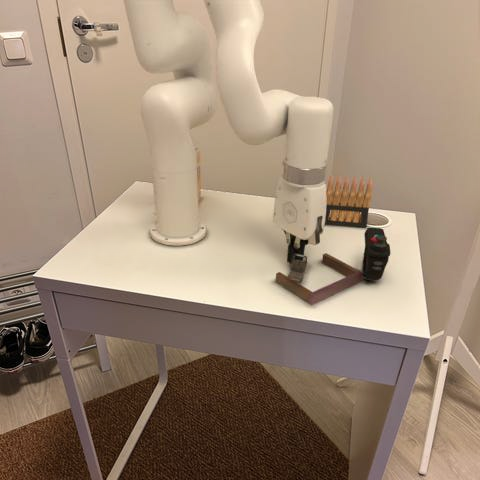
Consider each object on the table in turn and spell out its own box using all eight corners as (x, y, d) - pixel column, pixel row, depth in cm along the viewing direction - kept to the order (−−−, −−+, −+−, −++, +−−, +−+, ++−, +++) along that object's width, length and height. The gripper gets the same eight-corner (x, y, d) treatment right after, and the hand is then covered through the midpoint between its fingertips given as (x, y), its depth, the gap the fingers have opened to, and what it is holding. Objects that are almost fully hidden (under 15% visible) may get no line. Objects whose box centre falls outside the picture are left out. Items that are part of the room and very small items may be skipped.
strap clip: (293, 261, 98) (296, 243, 95) (308, 264, 97) (311, 246, 95) (285, 282, 91) (288, 263, 89) (301, 285, 91) (304, 266, 88)
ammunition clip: (365, 224, 114) (375, 176, 107) (366, 228, 112) (375, 179, 105) (321, 221, 115) (327, 172, 108) (321, 224, 114) (327, 175, 106)
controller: (360, 289, 90) (370, 242, 84) (357, 259, 100) (366, 215, 94) (383, 292, 89) (395, 245, 84) (378, 261, 99) (388, 217, 93)
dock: (275, 282, 92) (275, 273, 90) (324, 261, 99) (326, 252, 98) (311, 305, 85) (312, 296, 84) (361, 281, 93) (363, 272, 91)
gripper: (261, 165, 88) (257, 252, 98) (320, 189, 78) (308, 283, 89) (290, 158, 91) (283, 243, 102) (349, 180, 82) (334, 271, 93)
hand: (295, 261), depth 96 cm, fingers closed
